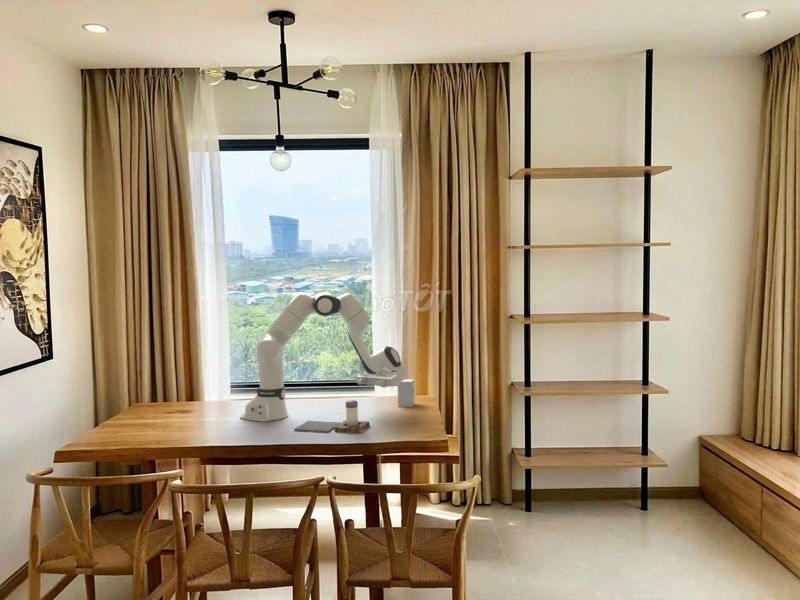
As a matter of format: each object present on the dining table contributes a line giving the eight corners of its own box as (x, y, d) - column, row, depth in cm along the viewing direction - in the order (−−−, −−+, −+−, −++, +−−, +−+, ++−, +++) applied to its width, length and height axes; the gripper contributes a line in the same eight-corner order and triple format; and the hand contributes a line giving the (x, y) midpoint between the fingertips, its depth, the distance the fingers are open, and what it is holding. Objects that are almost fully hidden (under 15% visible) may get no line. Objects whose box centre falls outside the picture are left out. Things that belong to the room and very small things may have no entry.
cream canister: (344, 430, 274) (343, 402, 273) (349, 426, 279) (348, 400, 278) (355, 430, 272) (355, 403, 271) (360, 427, 277) (359, 400, 276)
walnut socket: (334, 431, 272) (334, 427, 272) (345, 424, 283) (344, 420, 283) (360, 433, 268) (360, 428, 268) (369, 426, 279) (369, 421, 279)
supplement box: (412, 407, 312) (411, 381, 311) (397, 406, 313) (396, 381, 312) (415, 403, 319) (414, 378, 318) (400, 403, 321) (399, 378, 320)
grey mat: (294, 430, 275) (294, 428, 275) (308, 422, 288) (308, 420, 288) (328, 432, 270) (328, 431, 270) (340, 424, 284) (340, 422, 284)
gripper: (366, 369, 302) (348, 374, 290) (402, 372, 291) (386, 377, 279) (366, 382, 302) (349, 388, 290) (403, 385, 291) (386, 391, 279)
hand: (367, 383), depth 285 cm, fingers open, 8 cm apart
